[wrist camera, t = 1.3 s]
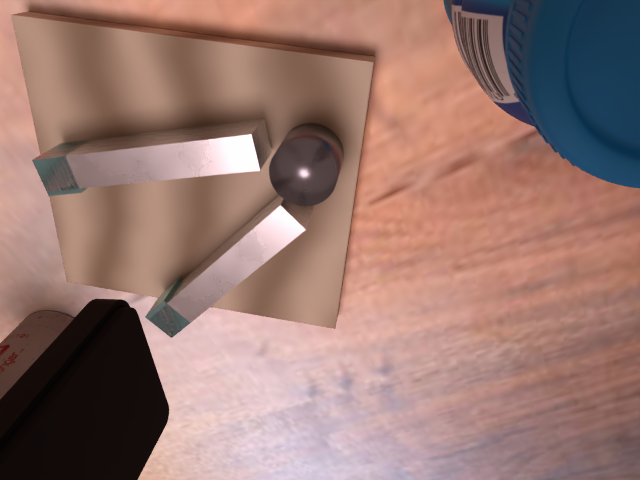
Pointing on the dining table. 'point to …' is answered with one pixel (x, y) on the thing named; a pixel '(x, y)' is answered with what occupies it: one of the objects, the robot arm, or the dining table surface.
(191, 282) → the tongs jaw
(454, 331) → the dining table surface
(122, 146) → the tongs base
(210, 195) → the maple board
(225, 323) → the dining table surface
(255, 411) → the dining table surface
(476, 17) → the beverage bottle
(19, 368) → the thermos bottle
